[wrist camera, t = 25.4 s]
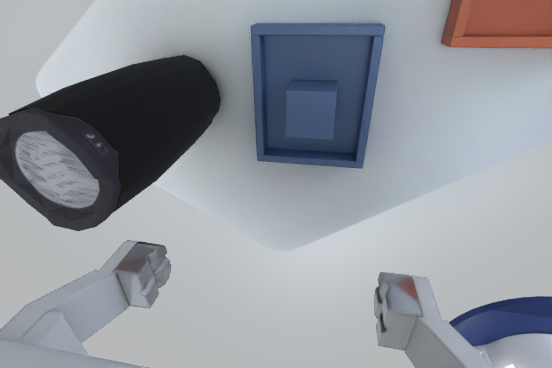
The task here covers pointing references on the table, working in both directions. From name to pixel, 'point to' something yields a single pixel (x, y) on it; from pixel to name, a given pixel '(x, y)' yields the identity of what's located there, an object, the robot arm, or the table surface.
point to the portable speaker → (105, 138)
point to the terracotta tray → (499, 24)
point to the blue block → (311, 109)
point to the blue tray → (315, 66)
